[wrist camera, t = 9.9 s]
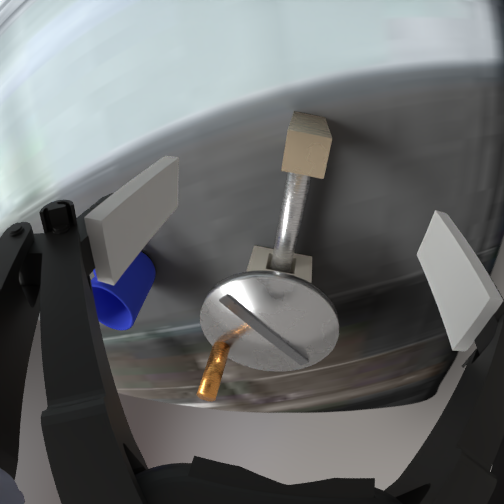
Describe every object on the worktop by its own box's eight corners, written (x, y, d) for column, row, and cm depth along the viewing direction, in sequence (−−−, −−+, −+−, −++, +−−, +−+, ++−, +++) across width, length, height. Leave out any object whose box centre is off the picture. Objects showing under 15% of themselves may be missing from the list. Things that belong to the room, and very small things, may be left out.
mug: (153, 220, 39) (115, 264, 31) (166, 288, 46) (139, 336, 38) (104, 216, 40) (64, 256, 32) (122, 280, 47) (92, 323, 39)
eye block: (254, 245, 38) (239, 293, 31) (312, 256, 38) (310, 307, 30) (248, 286, 42) (234, 335, 35) (300, 296, 42) (296, 347, 35)
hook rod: (294, 111, 28) (287, 129, 20) (325, 117, 28) (332, 138, 20) (262, 295, 43) (249, 350, 35) (284, 299, 43) (276, 356, 35)
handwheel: (178, 311, 34) (151, 367, 27) (274, 242, 26) (260, 309, 20) (265, 375, 39) (255, 428, 32) (364, 333, 31) (369, 397, 24)
